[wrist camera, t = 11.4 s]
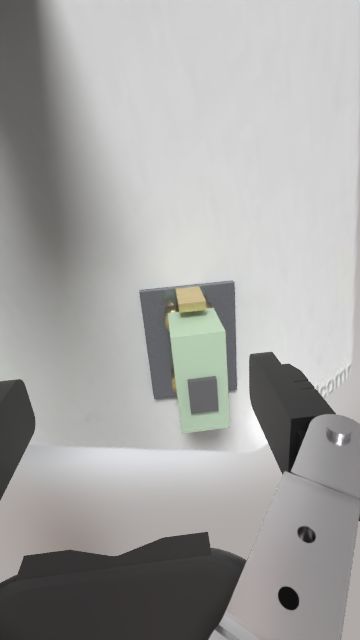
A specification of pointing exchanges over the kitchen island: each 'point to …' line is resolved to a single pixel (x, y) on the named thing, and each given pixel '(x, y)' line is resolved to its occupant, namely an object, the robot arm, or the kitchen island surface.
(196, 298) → the metal plate
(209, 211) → the kitchen island surface
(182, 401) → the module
